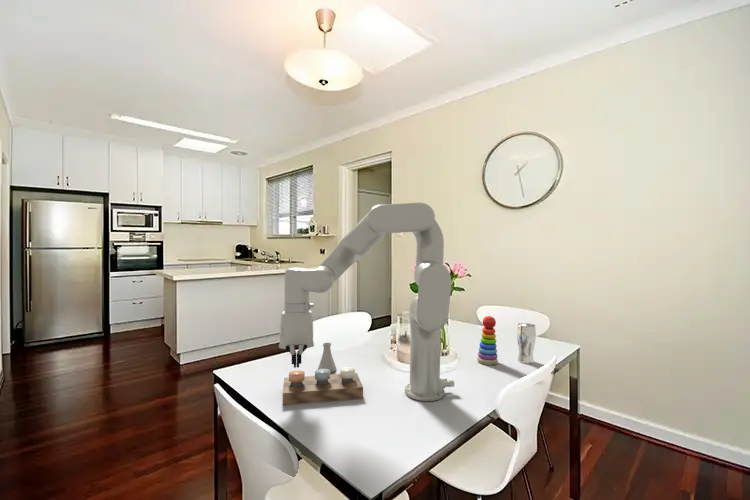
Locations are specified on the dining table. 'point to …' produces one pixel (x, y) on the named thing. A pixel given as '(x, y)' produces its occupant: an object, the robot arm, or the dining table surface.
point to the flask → (327, 359)
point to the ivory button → (347, 374)
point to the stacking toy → (488, 343)
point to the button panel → (321, 390)
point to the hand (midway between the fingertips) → (296, 366)
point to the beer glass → (526, 342)
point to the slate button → (322, 376)
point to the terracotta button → (296, 377)
